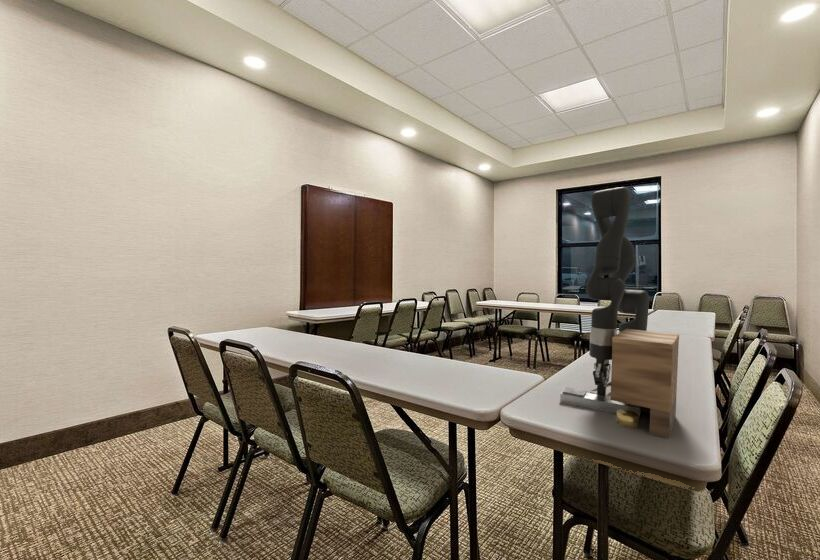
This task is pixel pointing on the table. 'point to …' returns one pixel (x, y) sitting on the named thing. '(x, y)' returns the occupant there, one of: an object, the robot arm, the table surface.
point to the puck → (627, 418)
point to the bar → (595, 401)
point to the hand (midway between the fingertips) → (601, 397)
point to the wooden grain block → (647, 375)
